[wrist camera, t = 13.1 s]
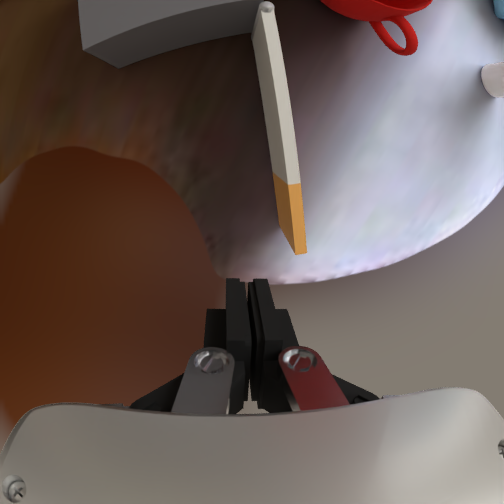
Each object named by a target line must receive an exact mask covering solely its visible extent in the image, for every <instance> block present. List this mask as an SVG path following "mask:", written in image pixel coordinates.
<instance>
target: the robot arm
mask: <svg viewBox="0 0 504 504" xmlns="http://www.w3.org/2000/svg"><path fill="white" fill-rule="evenodd" d="M249 380H250V389H251V398H252V401H257V405H258V409H265V410H266V411H268V412H269V413H263V414H236V413H238V412H239V411H240V410H241V409H242V408H243V404H244V401H247V400H248V388H249ZM0 504H504V420H503V418H502V417H501V415H500V414H499V413H498V412H497V410H496V409H495V408H494V407H493V405H492V404H491V403H490V402H489V401H488V400H487V399H486V398H485V397H484V396H483V395H482V394H480V393H479V392H477V391H475V390H472V389H468V388H459V387H444V388H443V387H442V388H435V389H429V390H424V391H419V392H415V393H409V394H404V395H396V396H395V395H393V396H391V395H387V396H382V398H381V399H379V398H378V397H377V396H376V395H374V394H373V393H371V392H368V391H366V390H364V389H362V388H360V387H358V386H356V385H353V384H351V383H349V382H347V381H345V380H343V379H341V378H338V377H336V376H334V375H332V374H331V373H330V371H329V369H328V368H327V366H326V365H325V363H324V361H323V360H322V358H321V357H320V356H319V354H318V353H317V352H316V351H314V350H312V349H310V348H308V347H303V346H299V344H298V341H297V338H296V335H295V332H294V329H293V326H292V323H291V319H290V316H289V314H288V311H287V309H275V306H274V302H273V299H272V295H271V291H270V287H269V284H268V280H267V279H253V282H249V283H248V298H246V290H245V282H240V280H239V278H226V309H207V314H206V324H205V337H204V348H202V349H200V350H197V351H196V352H194V353H193V354H192V356H191V357H190V359H189V362H188V365H187V367H186V370H185V373H183V374H182V375H180V376H178V377H177V378H175V379H173V380H171V381H170V382H168V383H166V384H165V385H163V386H161V387H159V388H158V389H156V390H154V391H152V392H150V393H149V394H147V395H145V396H143V397H141V398H140V399H138V400H136V401H135V402H134V403H132V404H131V406H127V407H126V406H125V407H124V406H123V404H87V403H56V404H47V405H43V406H39V407H36V408H34V409H31V410H30V411H28V412H27V413H26V414H25V415H24V416H23V417H22V418H21V419H20V420H19V421H18V423H17V424H16V426H15V427H14V429H13V430H12V432H11V434H10V435H9V437H8V439H7V441H6V443H5V445H4V447H3V450H2V452H1V454H0Z"/></svg>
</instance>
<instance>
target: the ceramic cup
mask: <svg viewBox="0 0 504 504" xmlns="http://www.w3.org/2000/svg"><path fill="white" fill-rule="evenodd" d="M320 1H321V2H322V3H324V4H325V5H326V6H327V7H329V8H330V9H332V10H333V11H335V12H337V13H339V14H341V15H343V16H346V17H349V18H352V19H356V20H362V21H369V23H370V24H371V26H372V27H373V29H374V30H375V32H376V33H377V35H378V36H379V37H380V39H381V40H382V41H383V43H384V44H385V45H386V46H387V47H388V48H389V49H390V50H392V51H393V52H395V53H397V54H399V55H406V56H407V55H411V54H413V53H415V52H416V50H417V47H418V39H417V36H416V33H415V31H414V29H413V28H412V26H411V25H410V23H409V22H408V21H407V20H406V19H405V18H404V16H407V15H409V14H412V13H414V12H417V11H419V10H422V9H424V8H426V7H427V6H428V5H429V4H430V3H431V2H432V0H320ZM381 21H392V22H394V23H395V24H397V25H398V26H399V27H400V29H401V30H402V32H403V33H404V36H405V38H406V48H405V49H404V48H402V47H400V46H399V45H398V44H397V43H396V42H395V41H394V40H393V39H392V38H391V36H390V35H389V34H388V32H387V31H386V29H385V28H384V26H383V25H382V23H381Z"/></svg>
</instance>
